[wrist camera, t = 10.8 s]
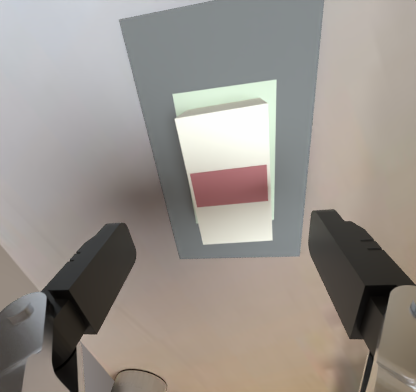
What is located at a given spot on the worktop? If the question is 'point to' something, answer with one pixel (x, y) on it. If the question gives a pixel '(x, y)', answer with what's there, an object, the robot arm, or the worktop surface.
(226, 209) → the card deck
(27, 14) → the worktop surface
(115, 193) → the worktop surface
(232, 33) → the mat
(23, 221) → the worktop surface
